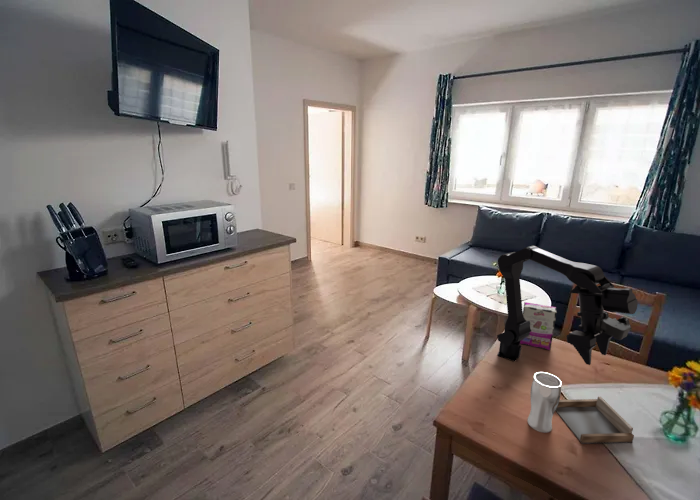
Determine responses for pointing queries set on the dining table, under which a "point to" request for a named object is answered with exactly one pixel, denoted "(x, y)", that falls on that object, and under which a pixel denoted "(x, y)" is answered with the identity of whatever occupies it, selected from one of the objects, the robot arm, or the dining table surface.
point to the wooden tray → (594, 421)
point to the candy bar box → (539, 325)
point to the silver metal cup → (544, 401)
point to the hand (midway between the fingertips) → (596, 359)
